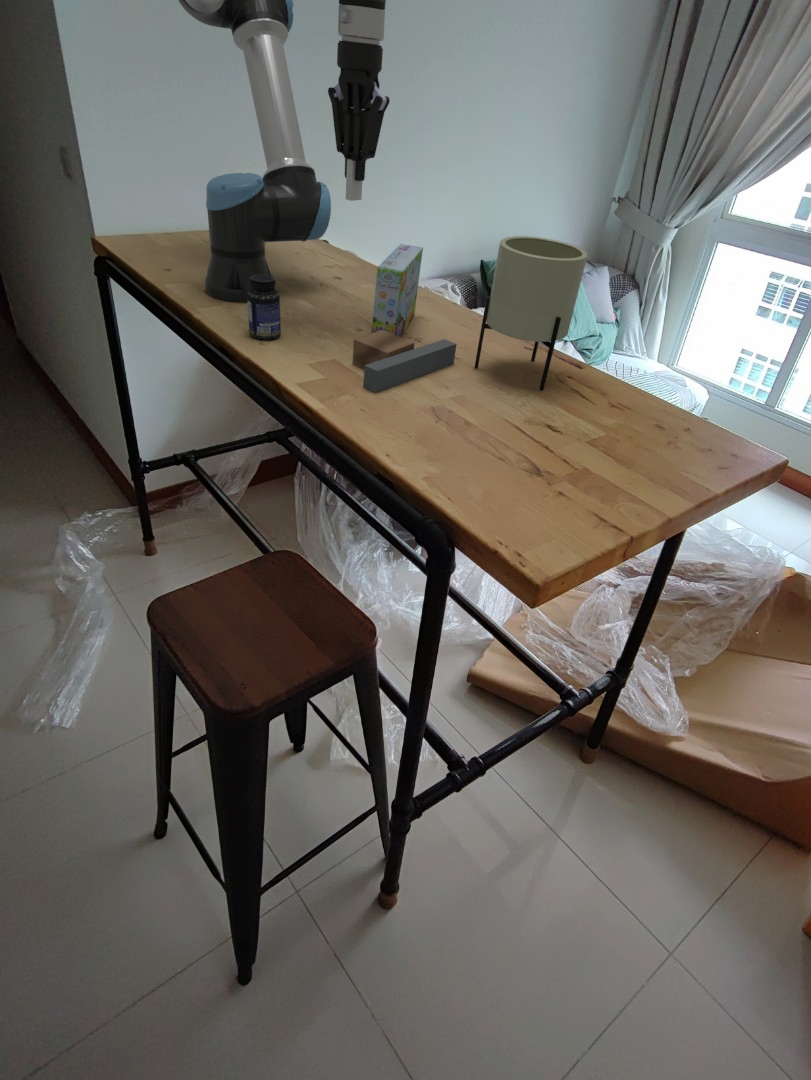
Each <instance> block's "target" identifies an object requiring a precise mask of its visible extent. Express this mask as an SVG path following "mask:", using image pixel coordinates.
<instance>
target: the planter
mask: <svg viewBox="0 0 811 1080" xmlns="http://www.w3.org/2000/svg"><path fill="white" fill-rule="evenodd" d="M587 259H588V253H587V251H586V250H585V249H583V248H581V247H580V246H576V245H575V244H574V245H573V244H571V243H568V242H564V241H562V240H561V241H560V240H556V239H552V238H546V237H545V238H544V237H538V236H526V235H525V236H522V235H521V236H519V235H518V236H507V237H505V238H502V239H501V240H500V241H499V246H498V251H497V256H496V264H495V270H494V273H493V279H492V286H491V290H490V291H491V292H490V296H486V298H485V305H484V311H483V314H482V315H483V316H482V320H481V321H482V322H481V327H480V332H479V338H478V344H477V351H476V357H475V361H474V369H477V370H478V369H479V365H480V358H481V353H482V347H483V343H484V334H485V330H487V329H488V330H494V331H495V332H498V333H499V334H501V335H504V336H507V337H509V338H513V339H517V340H520V341H521V340H522V341H526V342H527V341H529V342H534V344H533V350H532V354H531V358H530V362H532V363H534V362H535V360H536V356H537V352H538V348H539V343H541V344H542V345H544V346H546V347H547V348H548V351H547V355H546V360H545V364H544V368H543V372H542V375H541V376H542V377H541V381H540V385H539V389H538V390H539V391H542V392H543V391H544V389H545V385H546V383H547V378H548V373H549V369H550V365H551V361H552V357H553V354H554V349H555V347H556V346H555V345H556V341H560V340H562V339H565V337H567V336H568V333H569V330H570V326H571V322H572V318H573V314H574V311H575V307H576V303H577V299H578V295H579V291H580V287H581V284H582V278H583V275H584V272H585V271H584V270H585V267H586V263H587Z"/></svg>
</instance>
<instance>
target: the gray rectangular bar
mask: <svg viewBox="0 0 811 1080" xmlns="http://www.w3.org/2000/svg"><path fill="white" fill-rule="evenodd" d="M456 349H457V343H455V342H453V341H450V340H448V339H446V338H443V339H441V340H437V341H434V342H432V343H431V342H430V343H428V344H425V345H421V346H419V347H416V348H415V347H414V349H412V350H409V351H406V352H403V353H400V354H397V355H394V356H391V357H388V358H385V359H382V360H379V361H376V362H373V363H370V364H367V365H365V367H364V369H363V384H362V385H363V388H365V389H366V390H368V391H370V392H373V393H378V392H382V391H384V390H387V389H390V388H392V387H395V386H397V385H401V384H403V383H406V382H409V381H411V380H414V379H417V378H419V377H422V376H424V375H427V374H429V373H432V372H434V371H435V372H436V371H438V370H441V369H443V368H446V367H448V366H452V365H454V364H455V357H456Z"/></svg>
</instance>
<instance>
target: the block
mask: <svg viewBox="0 0 811 1080" xmlns="http://www.w3.org/2000/svg"><path fill="white" fill-rule="evenodd" d="M415 344H416V343H415V342H414V341H412V340H409V339H406V338H404V337H402V336H401V337H399V336H396V335H394V334H391V333H388V332H386V331H383V330H380V331H377V332H374V333H372V332H371V333H369V334H365V335H363V336H360V337H356V338H354V339H353V346H352V347H353V350H352V351H353V353H352V365H353V366H355V367H358V368H360V369H362V370H364V367H365V365H367V364H370V363H373V362H376V361H379V360H382V359H385V358H388V357H391V356H394V355H397V354H400V353H403V352H406V351H409V350H412V349H415Z"/></svg>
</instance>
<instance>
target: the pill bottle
mask: <svg viewBox="0 0 811 1080" xmlns="http://www.w3.org/2000/svg"><path fill="white" fill-rule="evenodd" d="M250 284H251V286H252V289H250V290H249V291H248V293H247V300H248V302H247V314H248V332H249V335H250V337H252V338H253V337H254V338H253V339H256V338H257V340H260V339H263V340H262V341H272V339H273V340H276V339H278V338H280V336H281V330H282V329H281V325H282V324H281V298H280V297H281V296H280V292H278V290H276V289H275V287H277V286H276V285H277V281H276V278H275V276H272V275H271V276H270V275H253V276H251V277H250Z"/></svg>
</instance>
